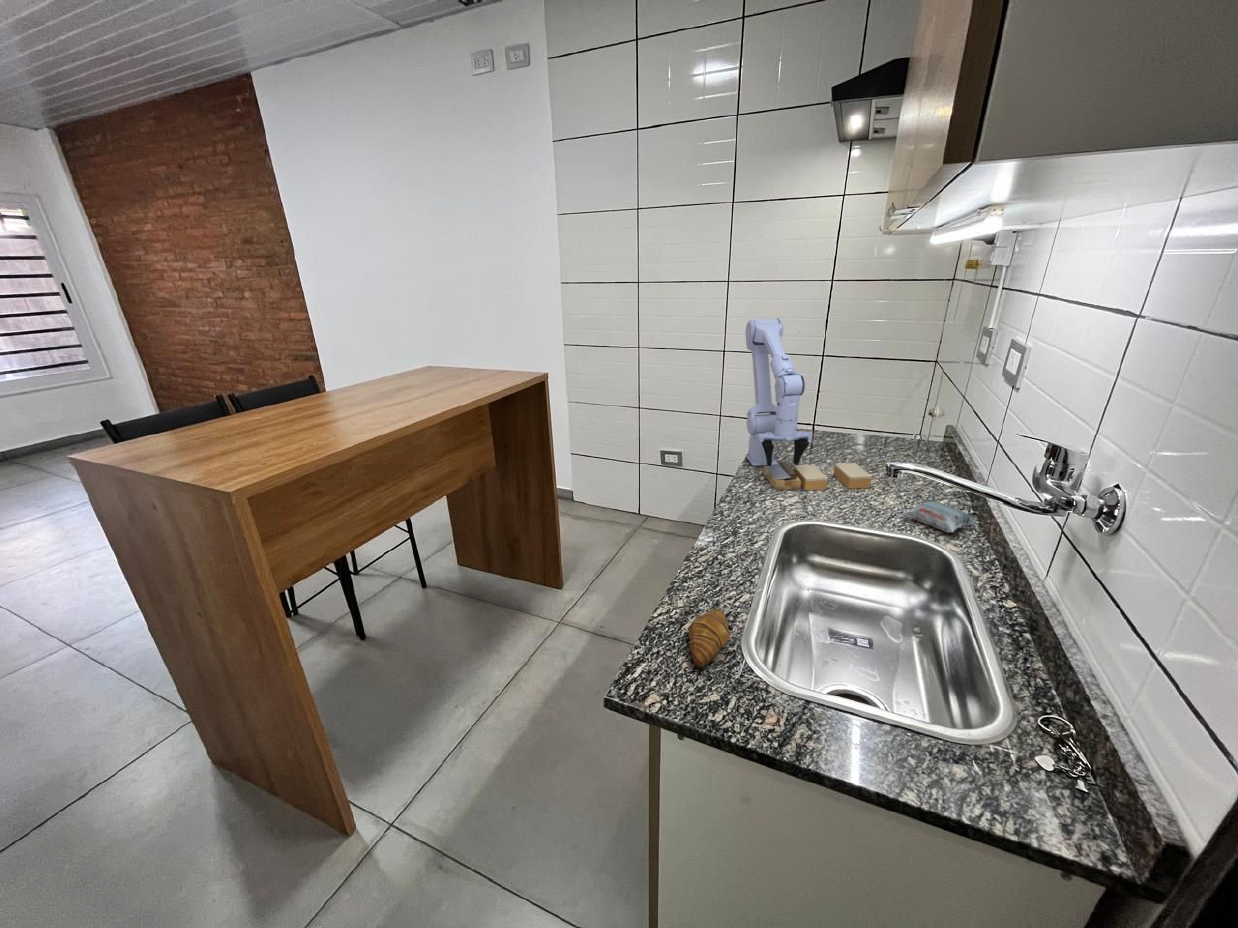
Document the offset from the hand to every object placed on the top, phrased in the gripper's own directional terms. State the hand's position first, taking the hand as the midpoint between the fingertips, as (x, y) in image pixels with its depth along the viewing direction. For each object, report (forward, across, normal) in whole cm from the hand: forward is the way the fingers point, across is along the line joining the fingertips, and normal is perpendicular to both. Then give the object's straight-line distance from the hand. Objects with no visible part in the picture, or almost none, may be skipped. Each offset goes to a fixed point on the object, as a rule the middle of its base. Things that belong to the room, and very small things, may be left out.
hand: (782, 464), depth 138 cm
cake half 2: (+5, +20, -2) cm, 20 cm away
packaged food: (+5, +27, -29) cm, 40 cm away
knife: (+3, -3, 0) cm, 4 cm away
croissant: (+5, -33, -64) cm, 72 cm away
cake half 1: (+5, +7, -2) cm, 9 cm away
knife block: (+5, 0, 0) cm, 5 cm away
